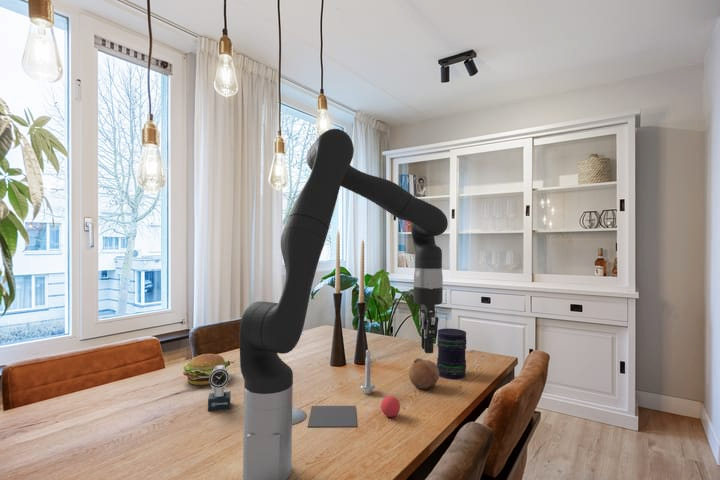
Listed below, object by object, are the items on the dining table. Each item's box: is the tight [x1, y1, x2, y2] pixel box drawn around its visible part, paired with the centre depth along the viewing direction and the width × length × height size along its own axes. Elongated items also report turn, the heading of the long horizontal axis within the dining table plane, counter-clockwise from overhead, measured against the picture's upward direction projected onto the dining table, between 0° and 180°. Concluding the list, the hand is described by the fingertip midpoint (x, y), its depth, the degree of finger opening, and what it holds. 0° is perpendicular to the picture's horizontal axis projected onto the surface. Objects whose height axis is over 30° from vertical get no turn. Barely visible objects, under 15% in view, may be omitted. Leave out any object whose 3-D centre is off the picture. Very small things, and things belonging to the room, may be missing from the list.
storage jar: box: [436, 328, 467, 381], centre depth 135 cm, size 10×10×15 cm
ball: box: [380, 395, 401, 418], centre depth 102 cm, size 5×5×5 cm
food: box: [183, 353, 231, 386], centre depth 127 cm, size 14×14×8 cm
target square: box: [307, 405, 358, 428], centre depth 101 cm, size 12×12×1 cm
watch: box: [207, 365, 232, 412], centre depth 106 cm, size 6×8×11 cm
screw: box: [359, 349, 377, 395], centre depth 118 cm, size 13×5×5 cm
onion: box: [408, 357, 440, 390], centre depth 122 cm, size 10×9×10 cm
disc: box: [292, 407, 307, 425], centre depth 101 cm, size 10×10×1 cm
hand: (427, 350), depth 102 cm, fingers open, 3 cm apart
